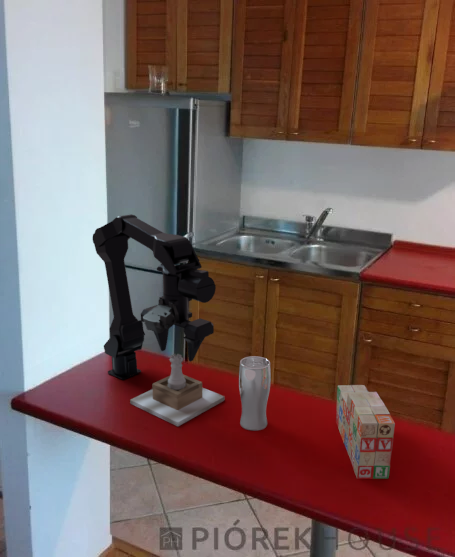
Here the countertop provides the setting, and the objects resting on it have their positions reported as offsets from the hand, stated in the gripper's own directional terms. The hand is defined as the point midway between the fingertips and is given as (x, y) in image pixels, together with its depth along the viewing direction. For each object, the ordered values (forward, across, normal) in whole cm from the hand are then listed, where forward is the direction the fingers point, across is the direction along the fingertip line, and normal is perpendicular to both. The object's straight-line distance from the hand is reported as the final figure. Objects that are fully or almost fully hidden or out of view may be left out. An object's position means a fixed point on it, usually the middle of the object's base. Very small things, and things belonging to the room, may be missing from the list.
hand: (176, 355), depth 135 cm
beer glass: (+12, +20, +4) cm, 24 cm away
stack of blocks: (+12, +43, +11) cm, 46 cm away
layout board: (+12, 0, 0) cm, 12 cm away
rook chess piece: (+8, 0, 0) cm, 8 cm away
